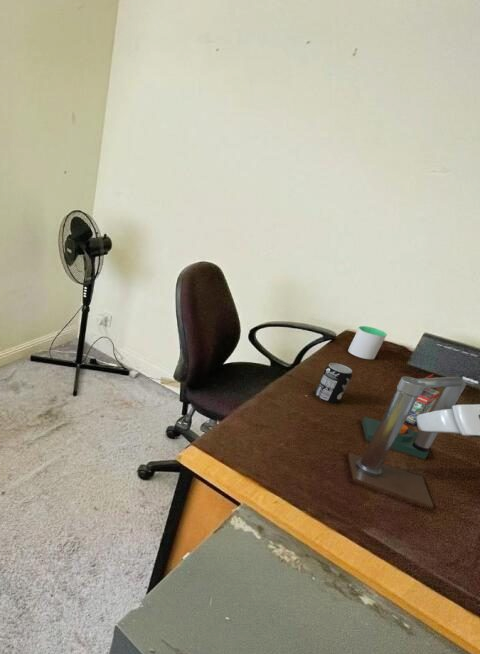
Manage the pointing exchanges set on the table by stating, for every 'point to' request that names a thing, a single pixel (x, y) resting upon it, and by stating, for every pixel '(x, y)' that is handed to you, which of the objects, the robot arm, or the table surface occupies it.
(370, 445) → the slanted pole stand
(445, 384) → the spout
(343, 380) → the beverage can
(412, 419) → the ink box
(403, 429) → the button
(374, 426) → the button box
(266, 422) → the table surface
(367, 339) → the mug
